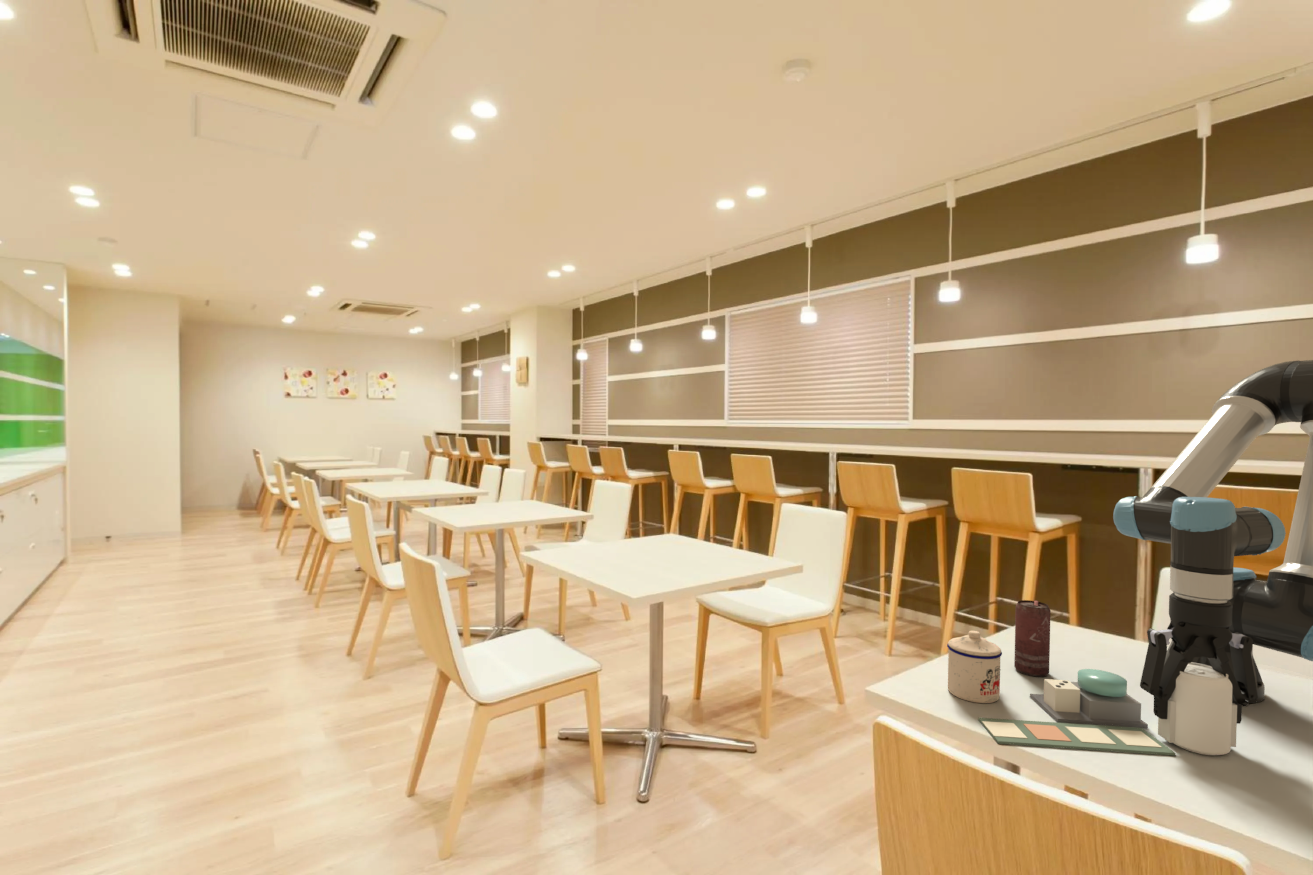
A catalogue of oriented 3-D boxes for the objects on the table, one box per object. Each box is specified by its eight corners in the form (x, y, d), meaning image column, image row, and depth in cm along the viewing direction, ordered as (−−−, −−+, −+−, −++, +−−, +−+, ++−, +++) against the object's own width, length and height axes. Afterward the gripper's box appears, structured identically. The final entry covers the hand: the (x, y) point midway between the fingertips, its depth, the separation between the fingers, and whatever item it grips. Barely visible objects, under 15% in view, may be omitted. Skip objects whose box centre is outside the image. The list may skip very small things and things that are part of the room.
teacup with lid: (989, 709, 111) (990, 643, 110) (937, 692, 117) (939, 630, 117) (1014, 690, 119) (1015, 629, 118) (964, 675, 125) (965, 618, 125)
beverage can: (1215, 763, 93) (1217, 683, 93) (1152, 738, 101) (1154, 664, 100) (1240, 750, 97) (1242, 674, 97) (1177, 728, 104) (1179, 656, 104)
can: (1049, 669, 129) (1050, 601, 129) (1048, 679, 124) (1050, 609, 124) (1015, 663, 132) (1016, 597, 132) (1013, 673, 127) (1015, 604, 127)
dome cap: (1111, 697, 113) (1111, 670, 113) (1135, 715, 106) (1136, 686, 106) (1069, 695, 114) (1069, 667, 114) (1090, 712, 107) (1091, 683, 107)
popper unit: (1111, 701, 114) (1112, 675, 114) (1147, 727, 104) (1148, 699, 104) (1029, 696, 116) (1030, 671, 116) (1057, 722, 106) (1058, 694, 106)
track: (1141, 730, 103) (1141, 727, 103) (1175, 755, 96) (1175, 752, 96) (978, 719, 107) (978, 716, 107) (997, 743, 99) (998, 740, 99)
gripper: (1254, 592, 101) (1250, 733, 101) (1114, 587, 103) (1110, 724, 104) (1295, 606, 93) (1290, 757, 94) (1143, 600, 96) (1139, 747, 96)
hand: (1196, 740), depth 99 cm, fingers closed on beverage can, 8 cm apart
